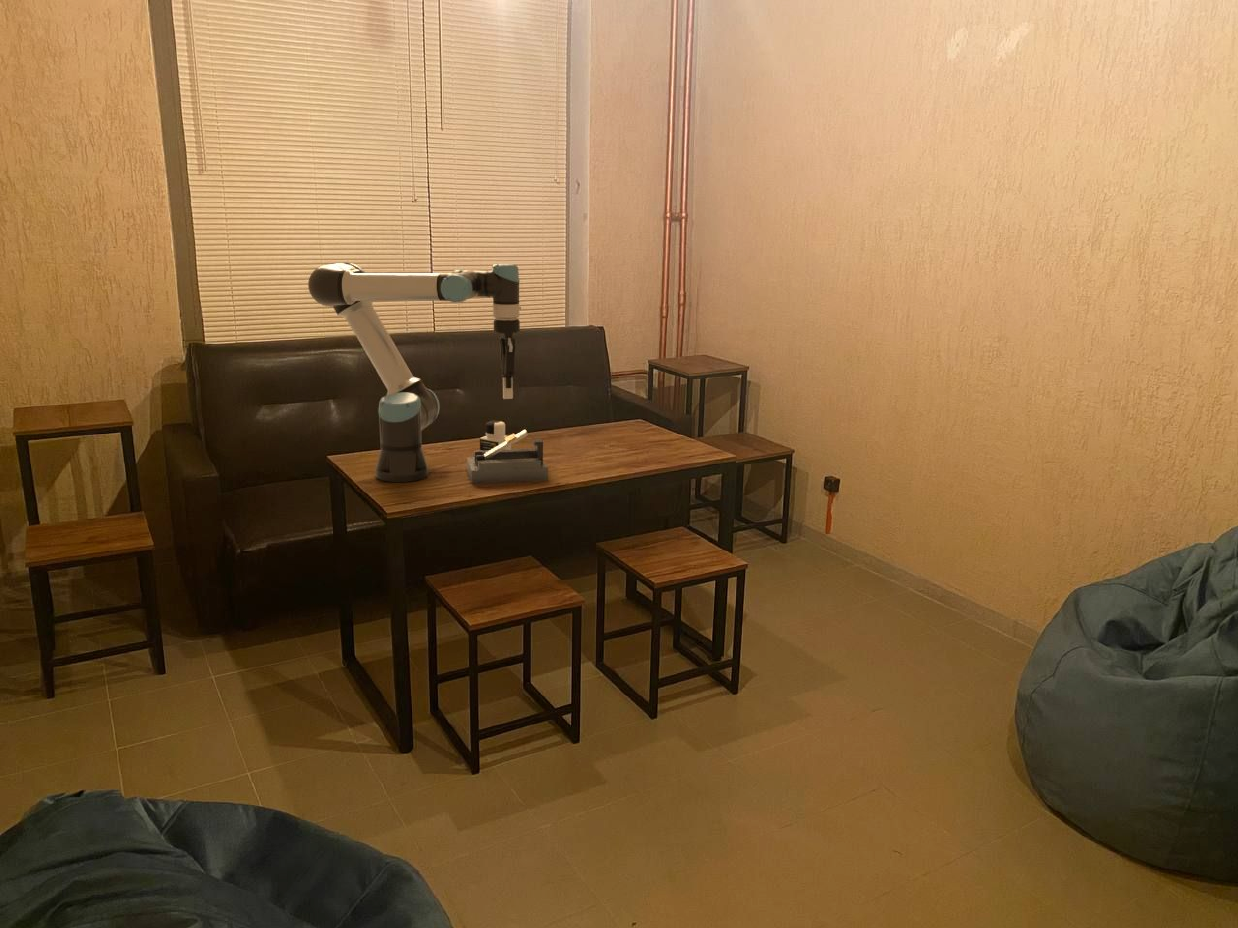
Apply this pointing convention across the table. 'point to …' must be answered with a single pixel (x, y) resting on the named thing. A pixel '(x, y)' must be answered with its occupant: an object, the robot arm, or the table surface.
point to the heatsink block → (509, 465)
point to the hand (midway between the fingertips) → (508, 398)
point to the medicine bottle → (493, 435)
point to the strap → (506, 443)
